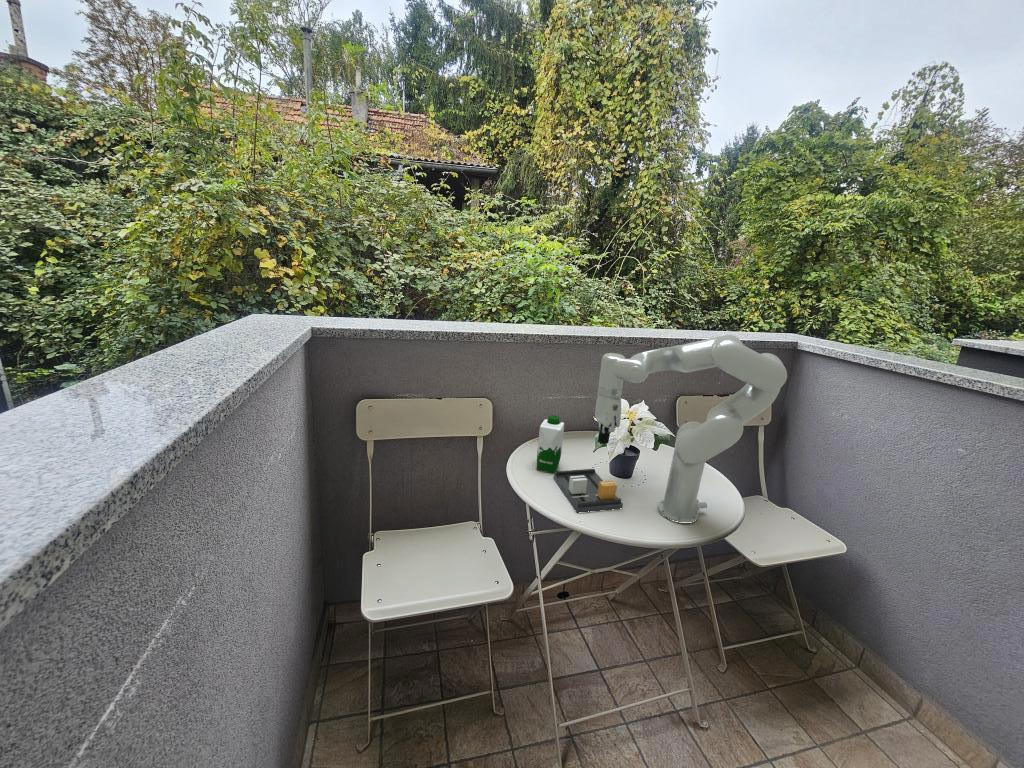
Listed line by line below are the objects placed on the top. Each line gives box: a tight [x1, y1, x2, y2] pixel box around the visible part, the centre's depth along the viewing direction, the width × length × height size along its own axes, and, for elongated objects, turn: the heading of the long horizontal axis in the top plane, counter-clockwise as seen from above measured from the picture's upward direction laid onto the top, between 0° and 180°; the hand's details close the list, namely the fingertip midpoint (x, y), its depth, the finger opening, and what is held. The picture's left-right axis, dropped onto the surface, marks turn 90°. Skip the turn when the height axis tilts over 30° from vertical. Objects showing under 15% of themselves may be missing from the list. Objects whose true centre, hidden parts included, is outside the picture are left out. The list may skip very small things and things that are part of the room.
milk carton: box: [536, 414, 565, 475], centre depth 165 cm, size 9×9×20 cm
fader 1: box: [569, 475, 587, 494], centre depth 149 cm, size 5×3×5 cm, turn 105°
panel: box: [553, 468, 624, 514], centre depth 153 cm, size 16×22×3 cm
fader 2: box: [597, 480, 618, 500], centre depth 147 cm, size 5×3×5 cm, turn 105°
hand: (603, 442), depth 149 cm, fingers closed
